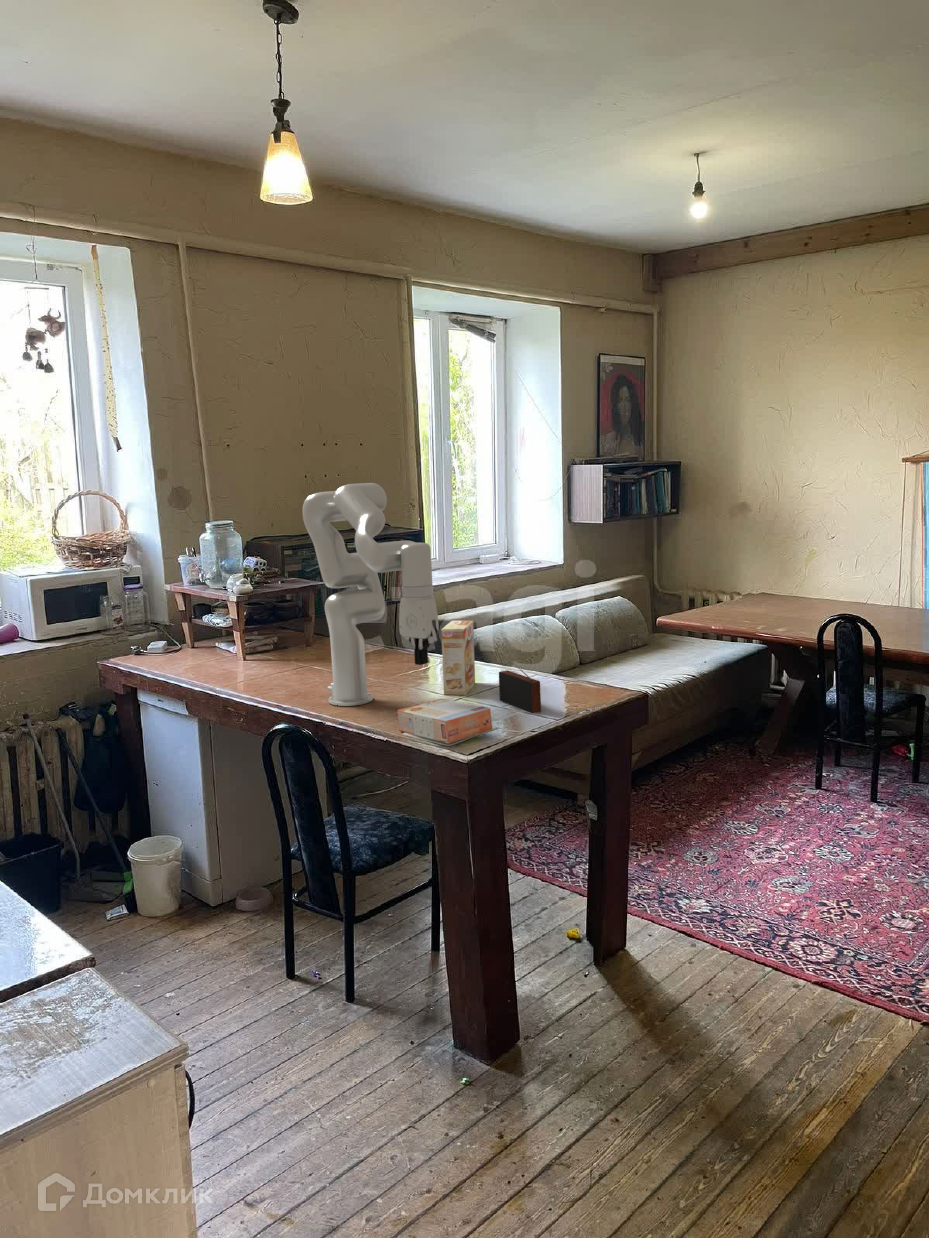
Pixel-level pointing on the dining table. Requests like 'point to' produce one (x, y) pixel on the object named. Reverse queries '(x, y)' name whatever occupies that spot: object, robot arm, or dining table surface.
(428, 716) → the cracker box
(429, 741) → the mat
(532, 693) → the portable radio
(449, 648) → the coffeecake box
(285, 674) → the dining table surface
